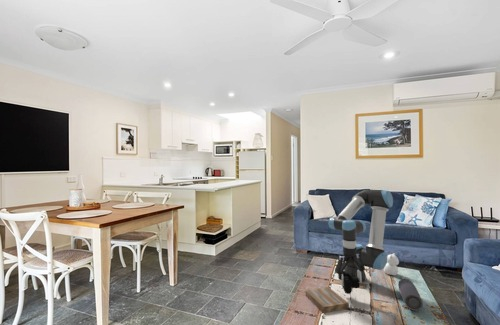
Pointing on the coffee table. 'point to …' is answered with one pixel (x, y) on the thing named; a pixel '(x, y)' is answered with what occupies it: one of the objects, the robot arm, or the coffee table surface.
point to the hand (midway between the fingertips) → (350, 283)
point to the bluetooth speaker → (410, 294)
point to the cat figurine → (391, 265)
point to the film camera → (349, 282)
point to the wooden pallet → (327, 299)
